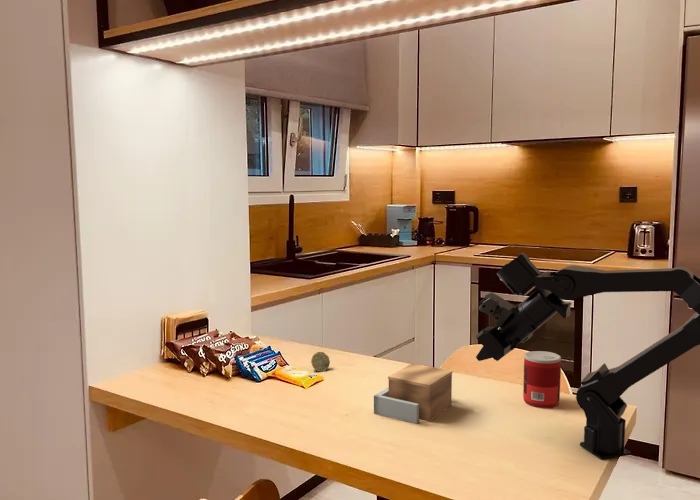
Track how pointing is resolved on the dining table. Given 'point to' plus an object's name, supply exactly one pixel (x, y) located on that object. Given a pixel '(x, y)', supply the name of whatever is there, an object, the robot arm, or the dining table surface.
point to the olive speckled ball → (320, 361)
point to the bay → (395, 407)
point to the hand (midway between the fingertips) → (477, 358)
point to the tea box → (423, 389)
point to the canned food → (542, 379)
